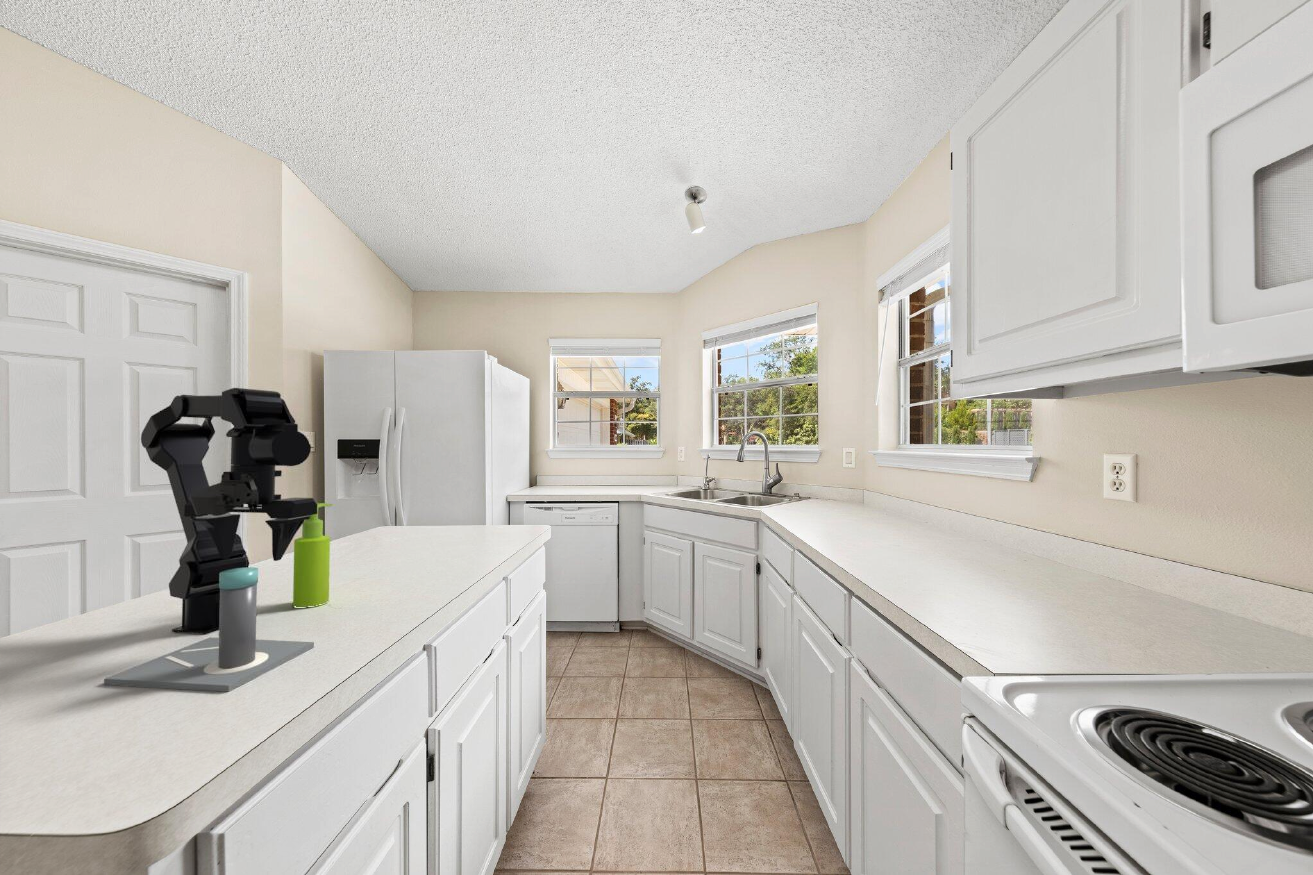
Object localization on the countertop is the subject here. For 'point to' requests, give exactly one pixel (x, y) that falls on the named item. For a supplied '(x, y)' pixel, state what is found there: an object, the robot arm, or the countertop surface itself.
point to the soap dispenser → (311, 563)
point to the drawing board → (207, 667)
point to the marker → (237, 617)
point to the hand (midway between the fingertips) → (251, 559)
